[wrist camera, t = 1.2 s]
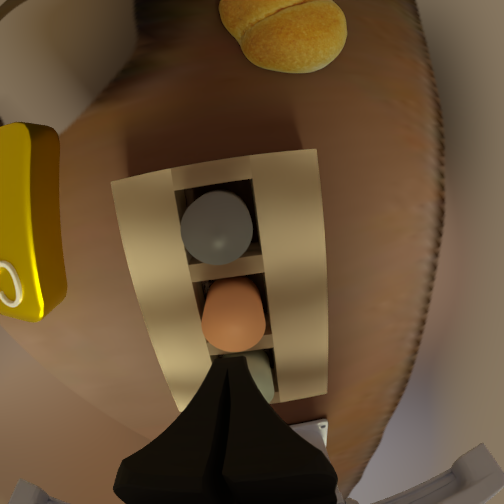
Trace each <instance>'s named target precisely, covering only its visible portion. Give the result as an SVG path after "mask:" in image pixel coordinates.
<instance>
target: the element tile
mask: <svg viewBox="0 0 504 504" xmlns="http://www.w3.org/2000/svg"><path fill="white" fill-rule="evenodd" d="M59 157H60V143H59V138H58V133H57V132H56V131H55V130H54V128H52V127H49V126H45V125H39V124H32V123H25V122H14V123H11V124H7V125H4V126H1V127H0V314H1V315H5V316H9V317H12V318H16V319H20V320H24V321H28V322H37V321H40V320H42V319H43V318H44V317H45V316H46V315H47V314H49V313H50V312H51V311H52V310H53V309H54V308H55V307H56V306H57V305H58V304H60V303H61V302H62V301H63V299H64V298H65V297H66V293H67V279H66V273H65V266H64V258H63V249H62V239H61V226H60V209H59Z"/></svg>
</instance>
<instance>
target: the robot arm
mask: <svg viewBox="0 0 504 504" xmlns="http://www.w3.org/2000/svg"><path fill="white" fill-rule="evenodd" d="M327 430H328V421H327V419H320V420H316V421H311V422H306V423H301V424H295V425H290V426H289V425H287V424H286V423H285V422H284V421H283V420H282V419H281V418H280V417H279V415H278V414H277V413H276V412H275V411H274V410H273V408H272V407H271V406H270V405H269V403H268V402H267V401H266V399H265V398H264V396H263V395H262V393H261V392H260V390H259V389H258V387H257V385H256V383H255V381H254V380H253V378H252V376H251V373H250V371H249V368H248V364H247V359H246V357H245V356H237V357H228V358H219V359H215V360H214V361H213V363H212V365H211V367H210V369H209V371H208V373H207V375H206V377H205V379H204V381H203V382H202V384H201V386H200V387H199V389H198V391H197V392H196V394H195V395H194V397H193V398H192V400H191V401H190V402H189V404H188V405H187V407H186V408H185V409H184V410H183V412H182V413H181V414H180V415H179V416H178V417H177V419H176V420H175V421H174V422H173V423H172V424H171V425H170V426H169V427H168V428H167V429H166V430H165V431H164V432H163V433H162V434H160V435H159V436H158V437H157V438H155V439H154V440H153V441H152V442H150V443H149V444H148V445H146V446H145V447H144V448H142V449H141V450H139V451H137V452H136V453H134V454H132V455H131V456H129V457H127V458H125V459H123V460H122V462H121V465H120V467H119V469H118V472H117V475H116V479H115V483H114V486H113V490H114V493H115V494H116V495H117V496H118V497H119V498H120V499H121V500H122V501H123V502H124V503H126V504H344V501H343V497H342V494H341V492H339V490H338V487H337V482H338V477H337V474H336V472H335V470H334V468H333V466H332V465H331V463H330V460H329V457H328V453H327V450H326V441H327ZM502 488H504V472H503V471H502V469H501V468H500V466H499V465H498V463H497V462H496V460H495V459H494V458H493V456H492V455H491V453H490V452H489V450H488V449H487V447H486V446H485V445H484V443H481V444H479V445H478V446H476V447H475V448H473V449H471V450H470V451H468V452H467V453H465V454H463V455H462V456H461V457H459V458H458V459H457V460H456V461H455V462H454V463H453V465H452V467H451V468H450V469H449V470H447V471H445V472H443V473H441V474H439V475H437V476H435V477H434V478H432V479H430V480H428V481H426V482H423V483H421V484H419V485H417V486H415V487H413V488H411V489H408V490H406V491H404V492H401V493H399V494H396V495H394V496H391V497H389V498H386V499H384V500H381V501H378V502H375V503H372V504H485V503H486V502H488V501H489V500H490V499H491V498H492V497H493V496H495V495H496V494H497V493H498V492H499V491H500V490H501V489H502ZM8 504H70V503H67V502H64V501H61V500H59V499H56V498H54V497H51V496H49V495H48V494H47V493H46V492H45V491H44V490H42V489H41V488H40V487H38V486H36V485H34V484H32V483H30V482H28V481H26V480H23V479H21V478H20V479H19V481H18V483H17V485H16V487H15V489H14V492H13V494H12V496H11V498H10V501H9V503H8ZM345 504H359V503H358V502H357V501H356V500H353V499H351V498H347V499H345Z"/></svg>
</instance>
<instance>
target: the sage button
mask: <svg viewBox="0 0 504 504" xmlns="http://www.w3.org/2000/svg"><path fill="white" fill-rule="evenodd" d="M237 356H245V357H246V359H247V364H248V368H249V371H250V373H251V376H252V378H253V380H254V381H255V383H256V385H257V387H258V389H259V390H260V392H261V393H262V395H263V396H264V398H265V399H266V401H267V402H268V403H270V402H271V400H272V399H273V397H274V386H273V380H272V374H271V368H270V363H269V357H268V355H267V353H266V352H265V351H264V350H263V349H259V350H252V351H245V352H237V353H228V354H224V355H223V358H228V357H237Z"/></svg>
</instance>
